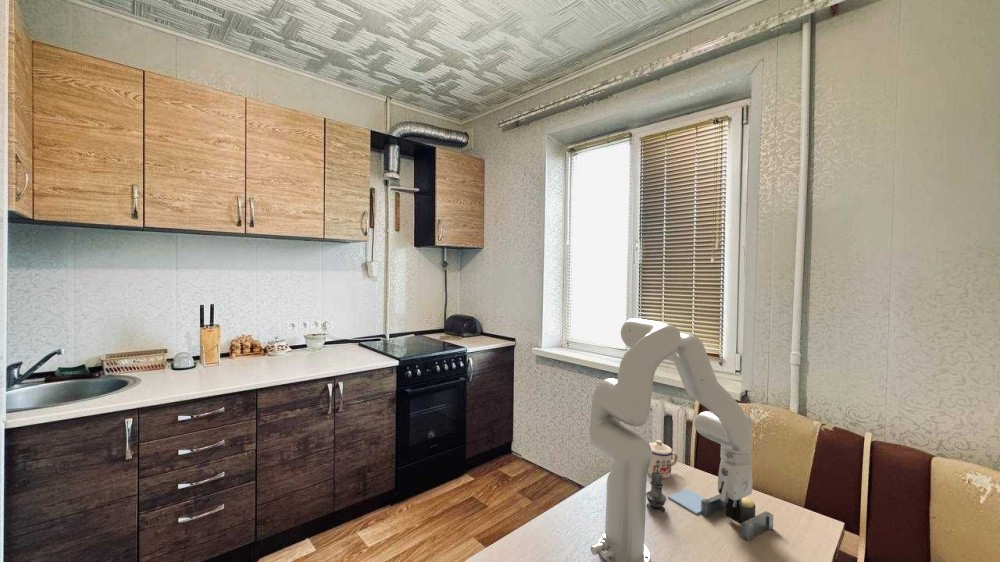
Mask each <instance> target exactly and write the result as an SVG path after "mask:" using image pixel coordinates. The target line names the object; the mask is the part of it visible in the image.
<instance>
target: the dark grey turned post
mask: <svg viewBox="0 0 1000 562" xmlns="http://www.w3.org/2000/svg"><path fill="white" fill-rule="evenodd" d="M650 485H651V487H650V488H651V489H650V491H646V500H647V502H648V503H646V508H647V509H648V510H649V511H650V512H653V513H656V514H662V513H665V511H666V508H665V506H664V505H665V504H666V501H667V499H668V497H666V495H665V494H663V487H664V484H663V479H662V474H661V473H660V472H658V469H657V470H656V471H654V472H653V473H652V476H651V481H650Z"/></svg>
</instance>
